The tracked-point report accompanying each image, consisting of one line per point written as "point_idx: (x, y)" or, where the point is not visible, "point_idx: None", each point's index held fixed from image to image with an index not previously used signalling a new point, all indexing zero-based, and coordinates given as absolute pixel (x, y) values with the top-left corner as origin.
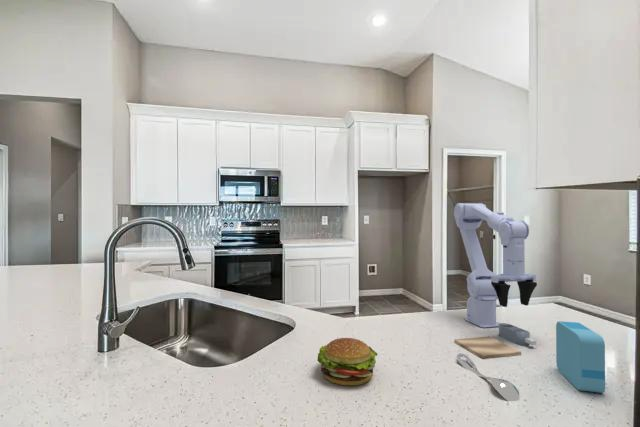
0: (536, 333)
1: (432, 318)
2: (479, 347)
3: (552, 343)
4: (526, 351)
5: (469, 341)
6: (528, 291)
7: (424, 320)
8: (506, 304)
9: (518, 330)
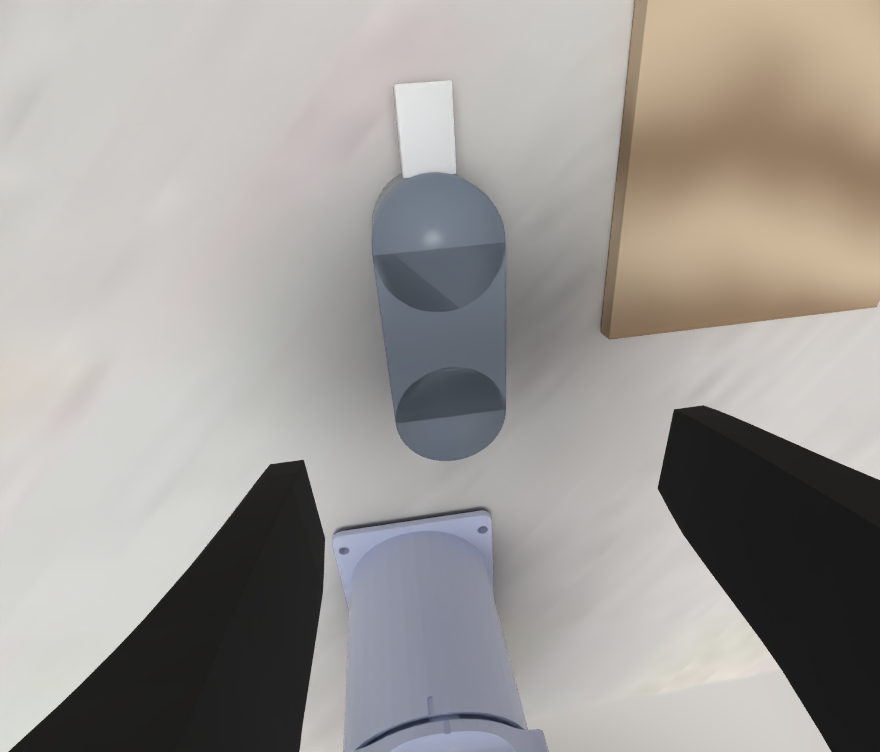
0: (157, 408)
1: (643, 634)
2: (873, 130)
3: (155, 188)
4: (528, 40)
5: (824, 259)
6: (208, 709)
7: (706, 609)
8: (715, 422)
9: (447, 281)
